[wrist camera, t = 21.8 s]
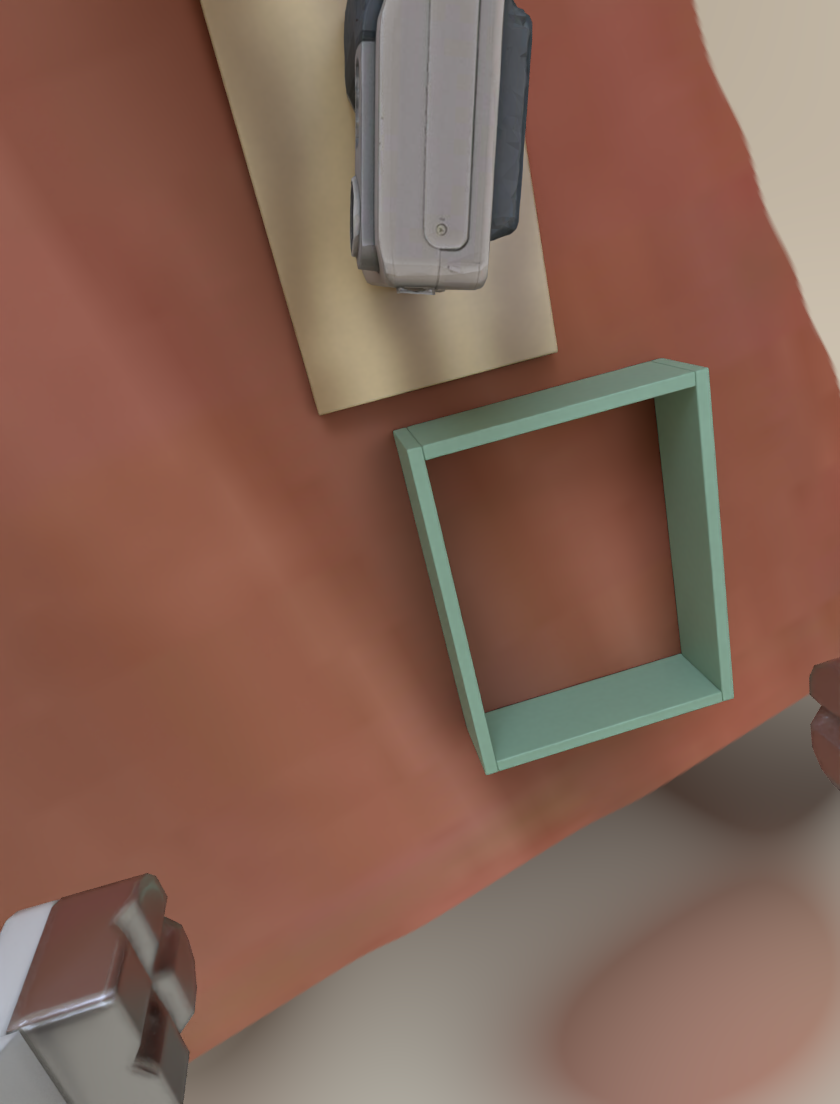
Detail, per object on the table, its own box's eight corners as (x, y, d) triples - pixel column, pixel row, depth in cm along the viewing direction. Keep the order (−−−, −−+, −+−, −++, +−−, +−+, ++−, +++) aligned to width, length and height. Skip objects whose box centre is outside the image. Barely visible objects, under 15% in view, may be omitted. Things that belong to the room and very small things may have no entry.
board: (318, 412, 36) (319, 416, 35) (172, -95, 28) (168, -108, 27) (551, 350, 36) (558, 352, 36) (471, -158, 29) (478, -173, 28)
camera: (339, -21, 29) (365, -161, 20) (480, 0, 30) (568, -124, 21) (332, 287, 33) (351, 291, 23) (457, 295, 34) (523, 302, 25)
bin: (466, 728, 43) (486, 775, 39) (392, 430, 36) (406, 450, 32) (692, 659, 45) (734, 698, 40) (662, 357, 38) (709, 367, 33)
